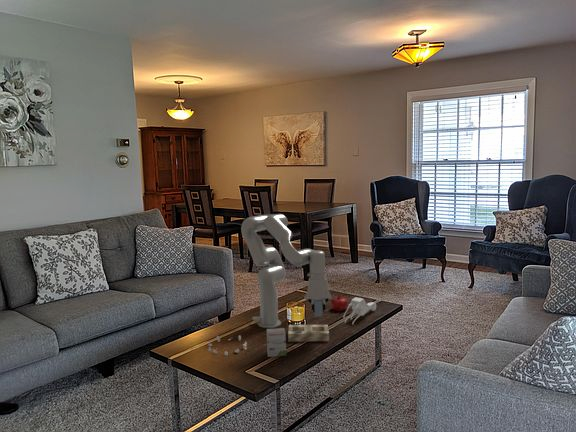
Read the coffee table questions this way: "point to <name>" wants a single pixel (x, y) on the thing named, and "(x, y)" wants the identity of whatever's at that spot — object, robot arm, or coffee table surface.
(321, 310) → the grey rectangular block
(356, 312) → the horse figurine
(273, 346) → the ink box
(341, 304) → the pomegranate
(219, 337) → the game piece set
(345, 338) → the coffee table surface
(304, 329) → the socket block
